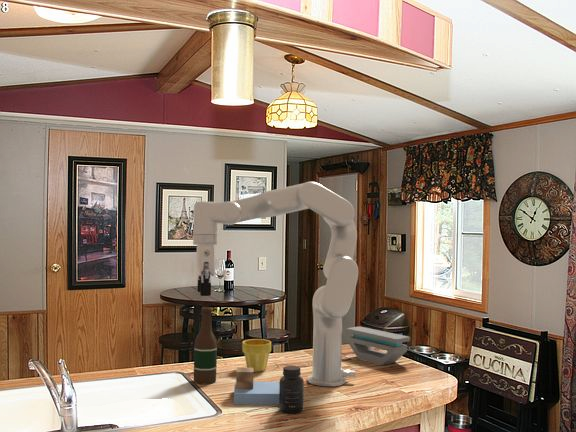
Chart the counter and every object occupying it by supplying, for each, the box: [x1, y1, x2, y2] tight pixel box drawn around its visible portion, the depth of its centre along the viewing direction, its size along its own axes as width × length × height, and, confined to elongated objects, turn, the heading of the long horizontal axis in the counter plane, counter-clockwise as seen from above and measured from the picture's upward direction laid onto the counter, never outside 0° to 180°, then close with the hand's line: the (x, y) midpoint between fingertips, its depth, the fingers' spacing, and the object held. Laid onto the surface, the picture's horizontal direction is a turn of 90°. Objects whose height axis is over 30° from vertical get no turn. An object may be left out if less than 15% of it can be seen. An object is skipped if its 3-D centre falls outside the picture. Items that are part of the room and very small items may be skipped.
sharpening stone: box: [345, 325, 411, 366], centre depth 214 cm, size 25×8×11 cm, turn 41°
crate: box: [235, 367, 255, 389], centre depth 166 cm, size 5×5×5 cm
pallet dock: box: [233, 381, 279, 405], centre depth 166 cm, size 16×12×3 cm
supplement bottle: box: [278, 365, 305, 415], centre depth 155 cm, size 7×7×12 cm
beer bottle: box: [193, 306, 218, 385], centre depth 181 cm, size 8×8×24 cm
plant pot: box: [241, 338, 272, 373], centre depth 198 cm, size 10×10×10 cm
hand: (203, 293), depth 178 cm, fingers open, 9 cm apart
